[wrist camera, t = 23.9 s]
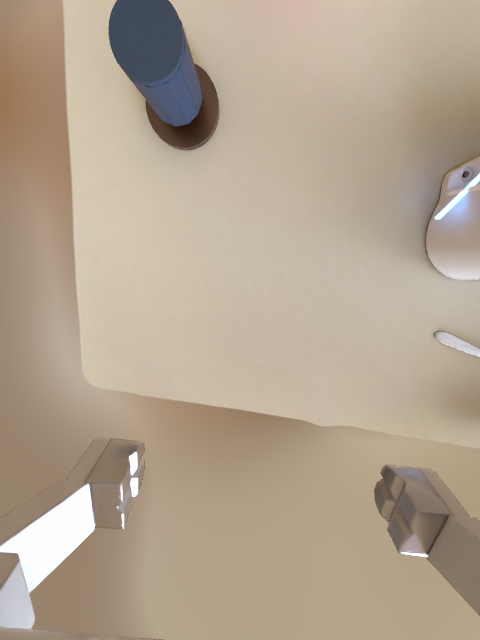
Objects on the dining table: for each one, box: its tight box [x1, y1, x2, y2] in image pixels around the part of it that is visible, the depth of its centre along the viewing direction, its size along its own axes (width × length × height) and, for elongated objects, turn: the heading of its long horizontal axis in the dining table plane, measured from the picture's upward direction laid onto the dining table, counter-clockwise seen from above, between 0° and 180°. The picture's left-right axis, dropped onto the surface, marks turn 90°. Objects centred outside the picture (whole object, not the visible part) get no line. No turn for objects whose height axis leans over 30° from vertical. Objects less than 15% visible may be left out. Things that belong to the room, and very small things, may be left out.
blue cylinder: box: [109, 0, 202, 126], centre depth 26 cm, size 6×6×10 cm
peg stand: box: [146, 64, 219, 150], centre depth 28 cm, size 9×9×14 cm
